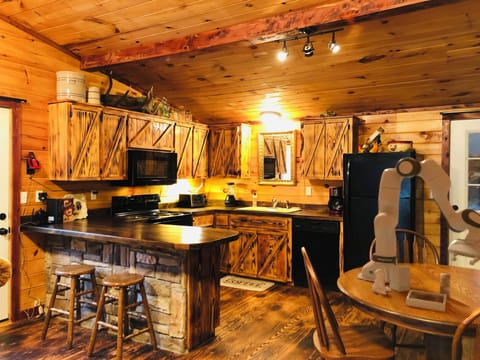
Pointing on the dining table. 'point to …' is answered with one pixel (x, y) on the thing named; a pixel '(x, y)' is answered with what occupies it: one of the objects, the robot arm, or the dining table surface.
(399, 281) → the supplement box
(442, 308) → the open box
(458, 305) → the dining table surface
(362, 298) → the dining table surface
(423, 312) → the dining table surface
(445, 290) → the birch peg
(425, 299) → the bore plate
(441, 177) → the robot arm
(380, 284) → the seated beast figurine
